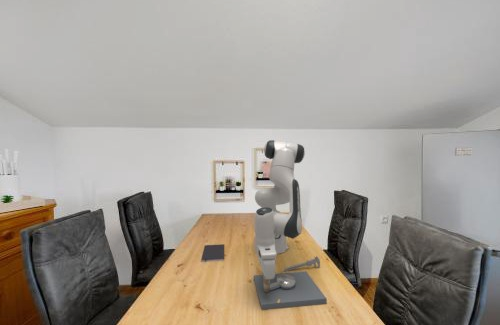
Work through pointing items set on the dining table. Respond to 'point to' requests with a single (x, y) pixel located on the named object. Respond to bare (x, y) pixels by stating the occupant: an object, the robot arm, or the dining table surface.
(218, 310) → the dining table surface
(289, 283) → the wooden knob lever
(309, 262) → the caliper
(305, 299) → the base plate
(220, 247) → the notebook
